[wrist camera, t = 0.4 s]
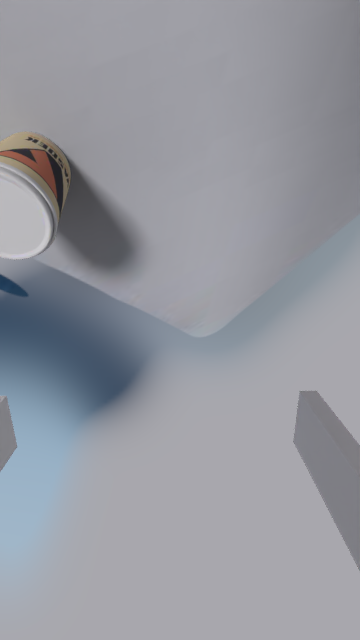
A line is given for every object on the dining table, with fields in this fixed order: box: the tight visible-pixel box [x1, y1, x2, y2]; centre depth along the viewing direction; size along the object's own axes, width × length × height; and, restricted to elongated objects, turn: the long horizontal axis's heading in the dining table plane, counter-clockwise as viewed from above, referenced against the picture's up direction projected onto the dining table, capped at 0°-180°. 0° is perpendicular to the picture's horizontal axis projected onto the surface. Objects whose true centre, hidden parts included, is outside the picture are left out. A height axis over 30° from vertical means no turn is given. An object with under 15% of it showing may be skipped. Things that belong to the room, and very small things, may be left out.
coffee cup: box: [0, 132, 71, 260], centre depth 33 cm, size 9×9×12 cm
